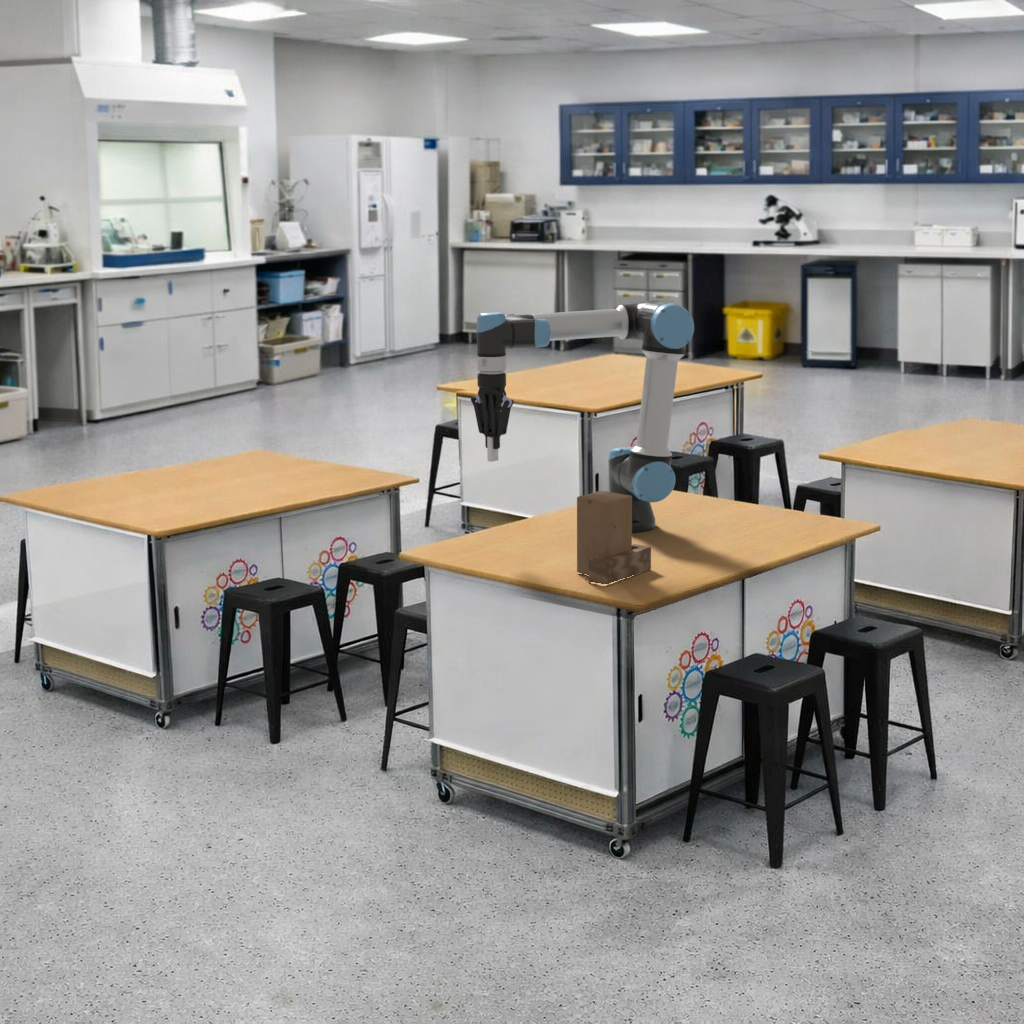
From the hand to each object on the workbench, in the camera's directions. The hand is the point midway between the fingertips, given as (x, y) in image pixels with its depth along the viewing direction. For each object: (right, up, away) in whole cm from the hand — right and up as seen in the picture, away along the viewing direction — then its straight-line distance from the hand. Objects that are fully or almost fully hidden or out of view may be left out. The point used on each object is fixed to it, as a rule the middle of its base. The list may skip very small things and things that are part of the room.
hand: (492, 460), depth 383 cm
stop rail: (+32, -30, -23) cm, 50 cm away
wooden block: (+28, -29, -20) cm, 45 cm away
